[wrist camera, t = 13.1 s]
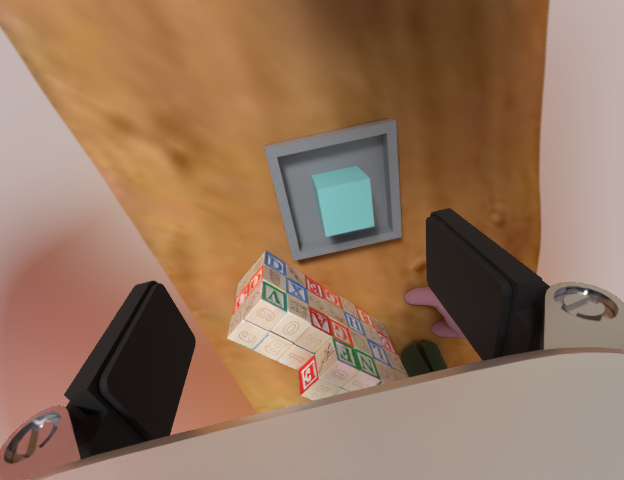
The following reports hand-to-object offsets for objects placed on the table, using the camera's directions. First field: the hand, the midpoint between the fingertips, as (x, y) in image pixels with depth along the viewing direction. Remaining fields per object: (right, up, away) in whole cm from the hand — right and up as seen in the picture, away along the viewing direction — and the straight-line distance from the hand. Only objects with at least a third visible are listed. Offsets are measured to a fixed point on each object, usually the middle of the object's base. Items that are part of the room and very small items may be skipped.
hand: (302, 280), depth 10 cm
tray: (+3, +7, +23) cm, 24 cm away
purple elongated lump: (+18, -7, +32) cm, 38 cm away
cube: (+3, +7, +22) cm, 24 cm away
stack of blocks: (+1, -7, +30) cm, 31 cm away
